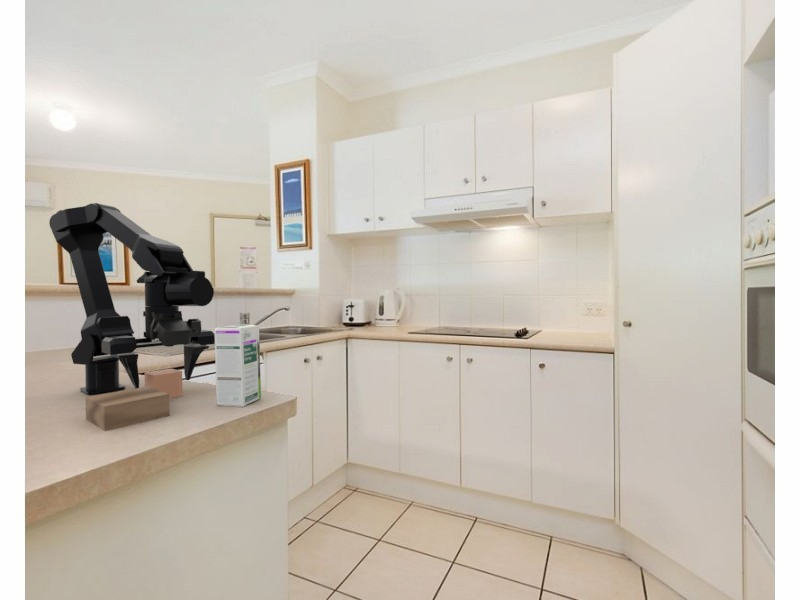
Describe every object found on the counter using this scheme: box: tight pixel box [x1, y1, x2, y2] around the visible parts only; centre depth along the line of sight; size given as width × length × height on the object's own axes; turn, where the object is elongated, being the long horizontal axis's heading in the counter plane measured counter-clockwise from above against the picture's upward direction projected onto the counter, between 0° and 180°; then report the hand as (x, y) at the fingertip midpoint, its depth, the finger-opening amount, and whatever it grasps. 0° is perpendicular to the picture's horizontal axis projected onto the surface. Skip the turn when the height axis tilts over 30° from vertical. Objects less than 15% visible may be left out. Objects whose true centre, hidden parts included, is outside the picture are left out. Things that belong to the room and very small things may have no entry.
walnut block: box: [85, 386, 171, 432], centre depth 64 cm, size 9×9×4 cm
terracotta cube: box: [144, 368, 183, 399], centre depth 77 cm, size 5×5×5 cm
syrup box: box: [213, 323, 262, 408], centre depth 73 cm, size 6×6×14 cm
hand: (163, 384), depth 77 cm, fingers open, 9 cm apart
